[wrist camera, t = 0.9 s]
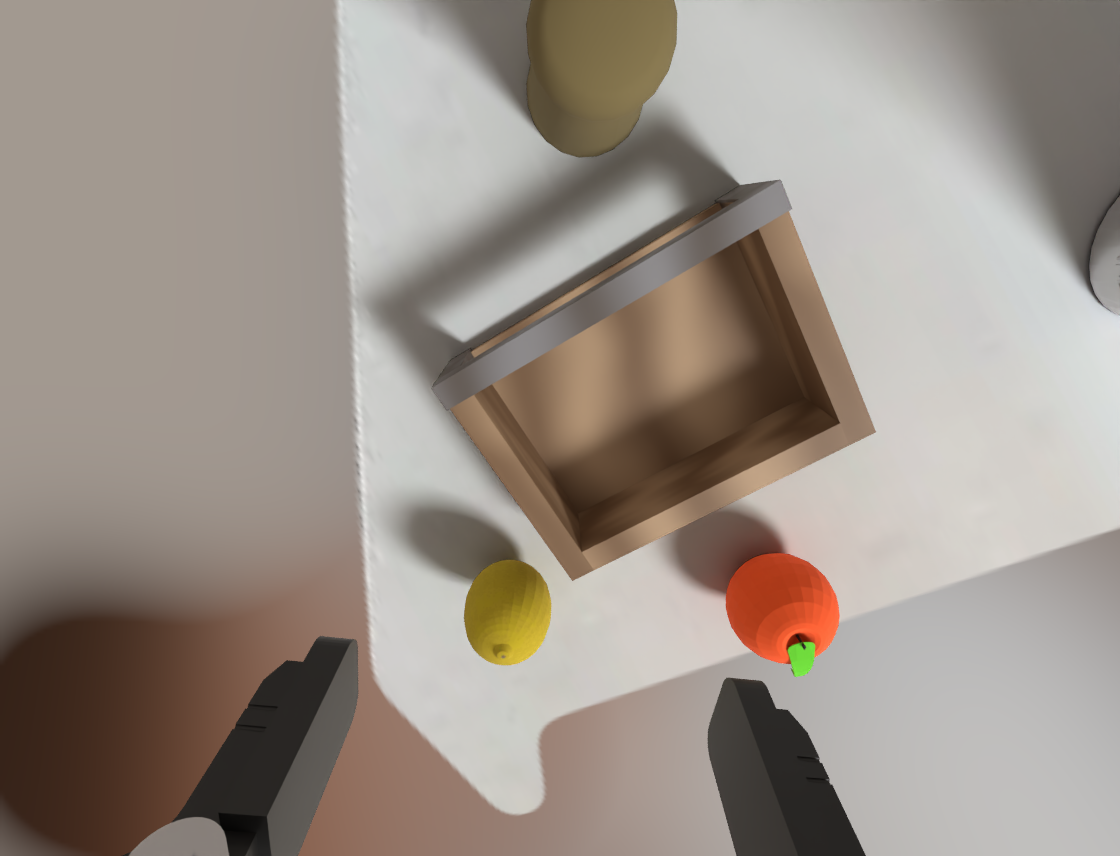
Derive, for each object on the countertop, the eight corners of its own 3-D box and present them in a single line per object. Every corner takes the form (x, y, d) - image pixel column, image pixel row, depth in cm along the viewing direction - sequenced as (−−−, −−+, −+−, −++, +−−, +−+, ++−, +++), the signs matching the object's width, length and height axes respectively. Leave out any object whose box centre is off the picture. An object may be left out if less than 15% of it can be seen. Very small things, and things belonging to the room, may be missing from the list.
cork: (665, 116, 28) (731, 61, 18) (563, 180, 29) (569, 164, 19) (610, -9, 26) (649, -154, 16) (503, 65, 27) (473, -25, 17)
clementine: (813, 612, 40) (865, 692, 33) (721, 630, 41) (754, 712, 34) (806, 523, 37) (861, 591, 30) (707, 544, 38) (740, 615, 31)
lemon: (491, 610, 39) (477, 702, 32) (461, 550, 38) (439, 634, 30) (562, 589, 39) (564, 678, 31) (535, 527, 37) (531, 607, 29)
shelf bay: (740, 185, 29) (780, 179, 24) (831, 401, 34) (881, 435, 29) (450, 360, 32) (431, 388, 27) (569, 534, 37) (572, 586, 32)
